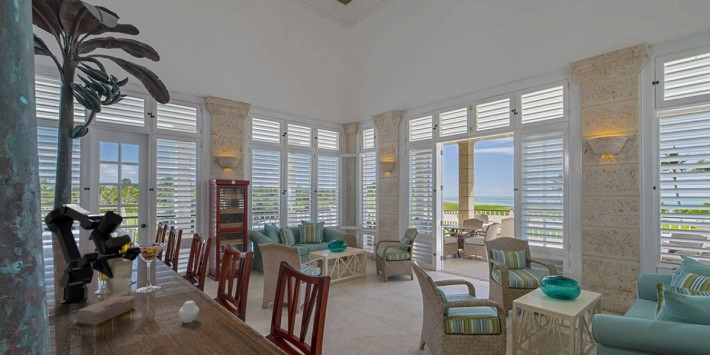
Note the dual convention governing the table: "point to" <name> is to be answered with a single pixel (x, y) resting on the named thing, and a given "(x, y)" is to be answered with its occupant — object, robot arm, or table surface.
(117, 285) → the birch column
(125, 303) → the brick
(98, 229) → the robot arm
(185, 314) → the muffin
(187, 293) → the table surface
